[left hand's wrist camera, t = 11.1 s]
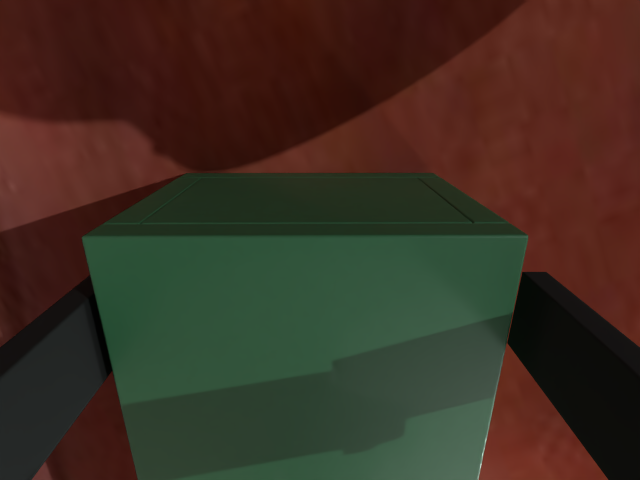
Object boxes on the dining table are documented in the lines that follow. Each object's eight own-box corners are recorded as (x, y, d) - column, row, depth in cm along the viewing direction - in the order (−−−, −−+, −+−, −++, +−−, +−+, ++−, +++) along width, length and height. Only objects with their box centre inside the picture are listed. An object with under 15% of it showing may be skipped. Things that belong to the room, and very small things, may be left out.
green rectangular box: (400, 482, 25) (441, 662, 17) (223, 484, 25) (180, 667, 17) (434, 172, 18) (530, 234, 10) (185, 172, 17) (79, 236, 10)
